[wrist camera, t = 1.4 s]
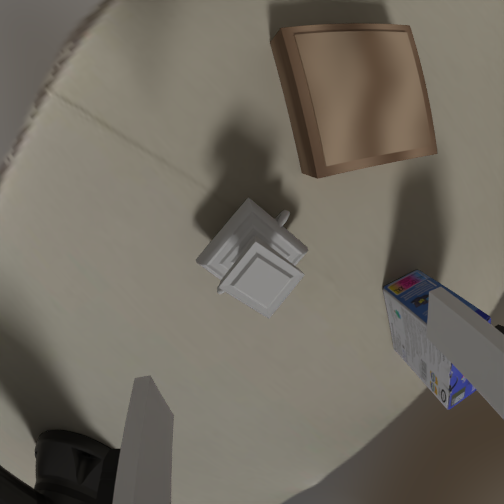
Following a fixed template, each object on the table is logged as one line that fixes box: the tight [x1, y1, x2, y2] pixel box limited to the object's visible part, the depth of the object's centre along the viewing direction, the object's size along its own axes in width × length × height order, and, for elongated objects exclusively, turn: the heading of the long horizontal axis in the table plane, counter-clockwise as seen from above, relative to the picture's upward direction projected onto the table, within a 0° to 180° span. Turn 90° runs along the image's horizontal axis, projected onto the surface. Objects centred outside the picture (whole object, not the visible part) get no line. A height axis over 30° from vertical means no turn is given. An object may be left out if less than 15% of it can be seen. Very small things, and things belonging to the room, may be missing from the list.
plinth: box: [270, 23, 437, 179], centre depth 23 cm, size 12×12×4 cm
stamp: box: [196, 197, 308, 318], centre depth 25 cm, size 9×7×8 cm
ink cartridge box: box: [383, 270, 491, 409], centre depth 27 cm, size 10×6×14 cm, turn 23°
